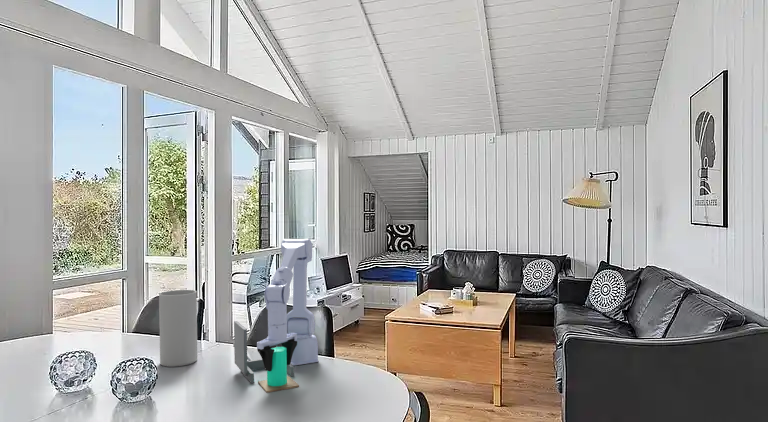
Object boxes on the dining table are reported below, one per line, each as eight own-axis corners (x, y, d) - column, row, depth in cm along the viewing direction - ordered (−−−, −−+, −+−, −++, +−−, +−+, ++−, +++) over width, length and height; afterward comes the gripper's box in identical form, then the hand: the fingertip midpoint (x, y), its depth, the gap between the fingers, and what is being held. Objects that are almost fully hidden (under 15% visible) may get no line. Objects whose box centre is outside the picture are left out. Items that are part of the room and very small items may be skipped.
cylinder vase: (167, 369, 177) (166, 296, 177) (155, 362, 186) (154, 292, 186) (203, 362, 185) (202, 292, 185) (189, 355, 195) (188, 288, 194)
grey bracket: (280, 363, 182) (279, 315, 182) (293, 375, 169) (293, 323, 168) (233, 370, 174) (232, 320, 174) (244, 384, 161) (243, 329, 161)
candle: (287, 379, 164) (286, 341, 163) (286, 385, 158) (285, 346, 158) (268, 380, 163) (267, 342, 163) (266, 386, 157) (265, 347, 157)
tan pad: (288, 377, 167) (288, 376, 167) (299, 386, 158) (299, 385, 158) (258, 382, 162) (258, 381, 162) (266, 392, 153) (266, 391, 153)
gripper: (286, 317, 168) (286, 359, 168) (250, 326, 156) (250, 371, 157) (301, 320, 164) (302, 363, 164) (265, 329, 152) (266, 375, 152)
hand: (278, 367), depth 160 cm, fingers open, 7 cm apart
